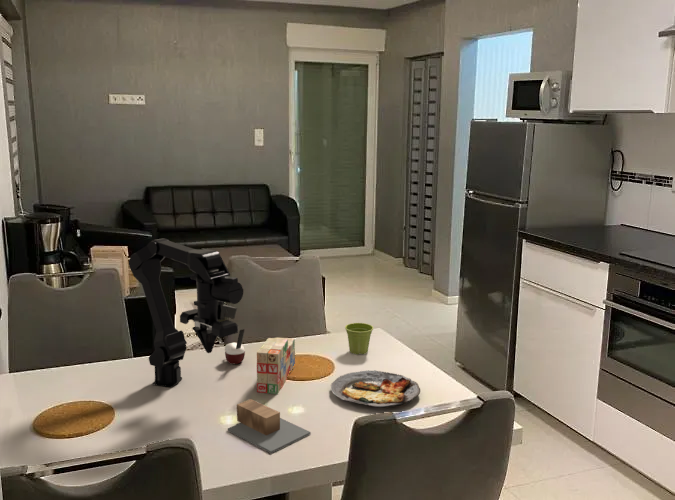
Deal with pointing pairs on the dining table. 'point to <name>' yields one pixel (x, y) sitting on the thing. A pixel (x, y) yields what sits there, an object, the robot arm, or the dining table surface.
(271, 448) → the mat
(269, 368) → the stack of blocks
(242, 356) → the cocoa
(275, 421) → the walnut block
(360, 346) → the plant pot
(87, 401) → the dining table surface
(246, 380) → the dining table surface
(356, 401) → the food plate
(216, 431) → the dining table surface
